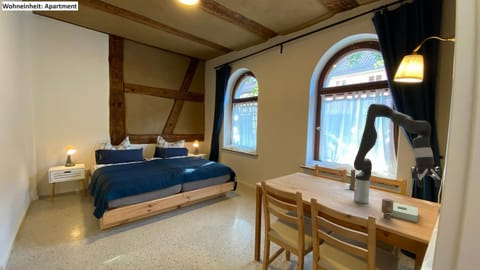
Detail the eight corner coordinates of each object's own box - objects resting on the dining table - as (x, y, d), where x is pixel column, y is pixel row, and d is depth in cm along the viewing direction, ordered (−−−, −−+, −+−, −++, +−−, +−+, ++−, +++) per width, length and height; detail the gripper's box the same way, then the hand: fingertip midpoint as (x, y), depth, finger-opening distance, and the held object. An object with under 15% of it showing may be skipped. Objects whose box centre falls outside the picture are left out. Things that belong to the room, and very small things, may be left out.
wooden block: (362, 189, 191) (363, 169, 190) (351, 190, 189) (352, 170, 188) (359, 188, 195) (360, 168, 193) (349, 188, 193) (349, 169, 192)
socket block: (385, 214, 139) (386, 208, 139) (388, 207, 152) (388, 201, 151) (417, 222, 129) (417, 215, 129) (417, 213, 141) (417, 207, 141)
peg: (380, 217, 135) (381, 200, 134) (381, 214, 139) (382, 197, 138) (392, 220, 131) (393, 202, 130) (393, 217, 135) (394, 200, 135)
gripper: (431, 156, 118) (437, 186, 115) (405, 157, 119) (410, 187, 116) (443, 155, 111) (449, 187, 108) (415, 156, 112) (420, 187, 109)
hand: (429, 187), depth 112 cm, fingers open, 8 cm apart
